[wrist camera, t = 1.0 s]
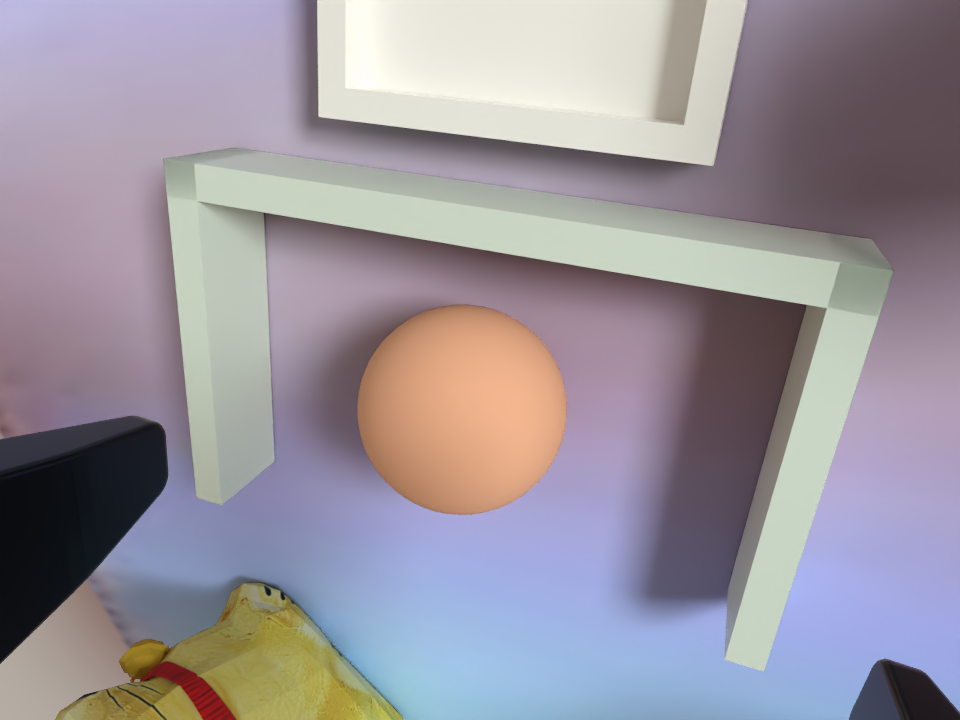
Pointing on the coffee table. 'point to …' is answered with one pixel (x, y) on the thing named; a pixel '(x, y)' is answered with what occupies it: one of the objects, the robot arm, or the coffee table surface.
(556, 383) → the ball
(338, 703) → the chocolate bunny
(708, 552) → the coffee table surface
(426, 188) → the corral
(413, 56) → the dish
